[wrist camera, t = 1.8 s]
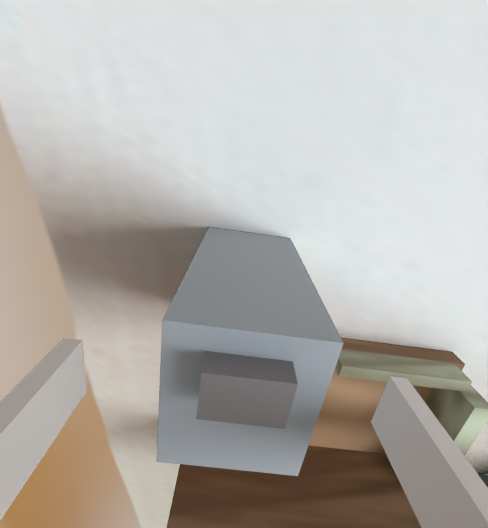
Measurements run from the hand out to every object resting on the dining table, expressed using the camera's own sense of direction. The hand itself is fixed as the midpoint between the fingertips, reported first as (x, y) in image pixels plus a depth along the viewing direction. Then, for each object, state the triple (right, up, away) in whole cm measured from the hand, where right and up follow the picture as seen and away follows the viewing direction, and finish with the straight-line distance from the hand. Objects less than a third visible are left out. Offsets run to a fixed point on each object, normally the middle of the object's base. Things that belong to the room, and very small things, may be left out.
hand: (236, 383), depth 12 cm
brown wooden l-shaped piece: (+7, -7, +14) cm, 17 cm away
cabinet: (0, +4, +10) cm, 10 cm away
